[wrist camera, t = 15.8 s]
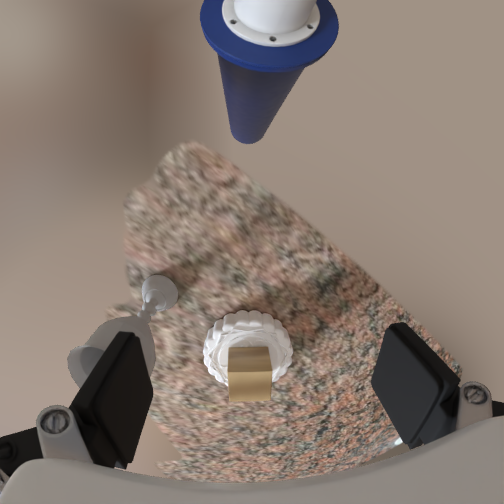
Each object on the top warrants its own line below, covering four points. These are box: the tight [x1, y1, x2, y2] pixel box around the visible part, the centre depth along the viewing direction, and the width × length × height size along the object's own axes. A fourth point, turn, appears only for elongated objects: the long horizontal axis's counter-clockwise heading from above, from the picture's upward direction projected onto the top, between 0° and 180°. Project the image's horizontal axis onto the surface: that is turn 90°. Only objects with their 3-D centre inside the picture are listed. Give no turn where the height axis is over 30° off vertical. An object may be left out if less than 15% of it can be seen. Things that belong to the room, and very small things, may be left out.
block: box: [227, 347, 272, 401], centre depth 31 cm, size 5×5×5 cm
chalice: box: [67, 275, 178, 388], centre depth 25 cm, size 7×7×18 cm
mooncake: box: [203, 310, 293, 386], centre depth 35 cm, size 12×12×4 cm
